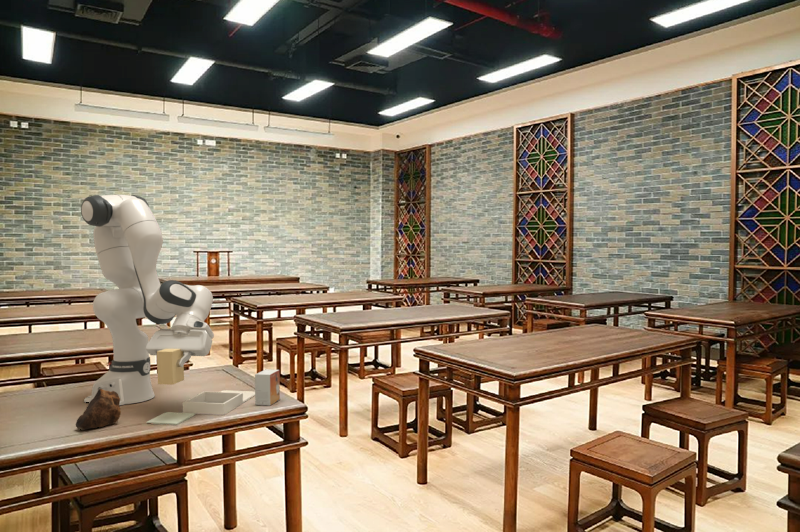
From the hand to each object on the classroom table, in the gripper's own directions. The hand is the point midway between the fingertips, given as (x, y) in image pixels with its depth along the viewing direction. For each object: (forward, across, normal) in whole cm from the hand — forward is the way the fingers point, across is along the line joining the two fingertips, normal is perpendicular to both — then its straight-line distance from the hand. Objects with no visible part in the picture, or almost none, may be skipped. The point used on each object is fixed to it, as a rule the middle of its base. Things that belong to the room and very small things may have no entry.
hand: (169, 365), depth 166 cm
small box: (-4, +22, +28) cm, 36 cm away
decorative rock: (+18, -18, +6) cm, 26 cm away
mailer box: (-2, +7, +26) cm, 27 cm away
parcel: (+3, 0, +4) cm, 5 cm away
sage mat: (+11, 0, +12) cm, 17 cm away
